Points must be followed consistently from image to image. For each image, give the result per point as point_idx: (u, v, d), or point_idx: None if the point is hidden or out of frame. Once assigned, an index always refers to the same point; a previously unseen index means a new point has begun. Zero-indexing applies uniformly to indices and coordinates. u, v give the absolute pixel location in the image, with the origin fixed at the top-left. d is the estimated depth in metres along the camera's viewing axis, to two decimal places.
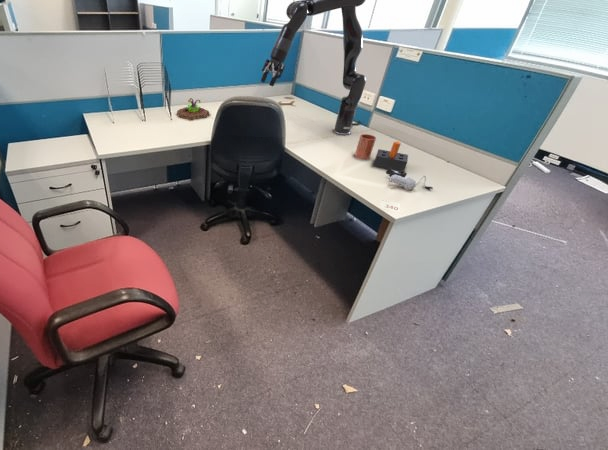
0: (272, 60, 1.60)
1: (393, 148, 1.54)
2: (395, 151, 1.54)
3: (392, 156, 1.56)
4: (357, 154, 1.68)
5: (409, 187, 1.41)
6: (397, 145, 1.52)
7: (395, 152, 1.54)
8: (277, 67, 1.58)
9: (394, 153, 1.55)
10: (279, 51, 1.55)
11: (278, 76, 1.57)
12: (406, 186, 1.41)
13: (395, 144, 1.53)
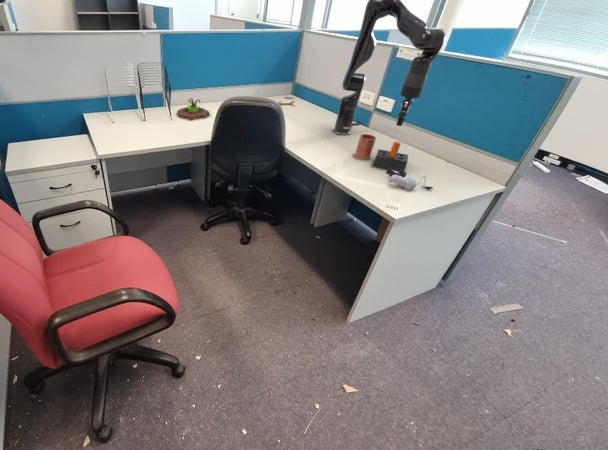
0: (411, 99, 1.40)
1: (393, 148, 1.54)
2: (395, 151, 1.54)
3: (392, 156, 1.56)
4: (357, 154, 1.68)
5: (409, 187, 1.41)
6: (397, 145, 1.52)
7: (395, 152, 1.54)
8: None
9: (394, 153, 1.55)
10: None
11: None
12: (406, 186, 1.41)
13: (395, 144, 1.53)
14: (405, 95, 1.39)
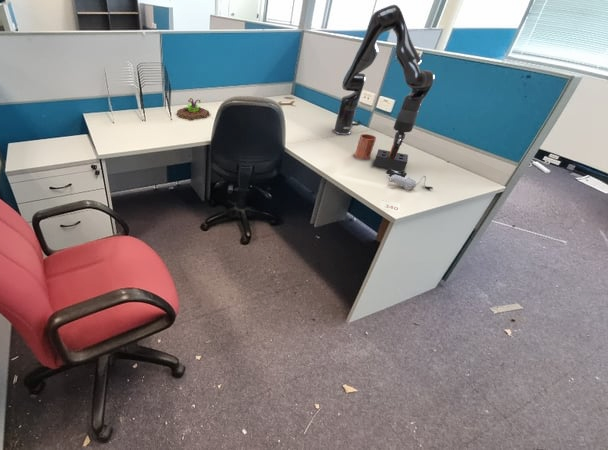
0: (403, 133, 1.49)
1: None
2: None
3: None
4: (357, 154, 1.68)
5: (409, 187, 1.41)
6: None
7: None
8: None
9: None
10: None
11: None
12: (406, 186, 1.41)
13: None
14: (398, 129, 1.47)
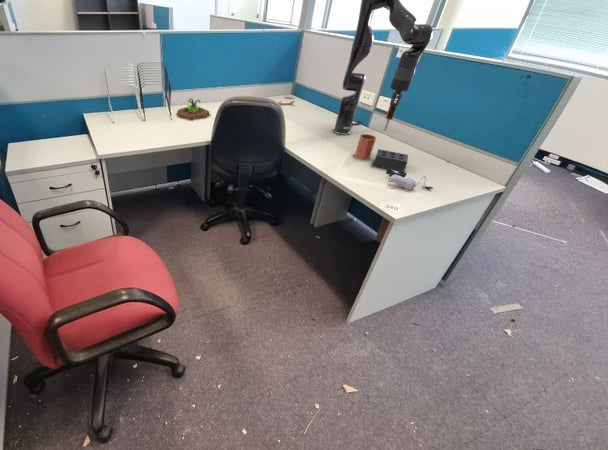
0: (400, 92, 1.45)
1: None
2: None
3: None
4: (357, 154, 1.68)
5: (409, 187, 1.41)
6: (394, 106, 1.49)
7: None
8: None
9: None
10: None
11: None
12: (406, 186, 1.41)
13: None
14: (395, 88, 1.43)
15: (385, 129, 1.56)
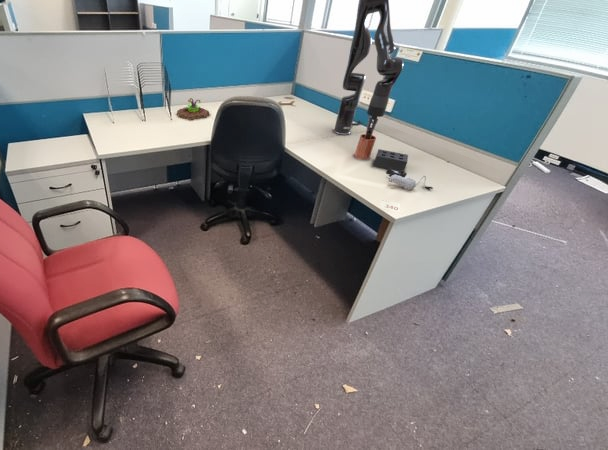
0: (376, 118, 1.57)
1: None
2: None
3: None
4: (357, 154, 1.68)
5: (409, 187, 1.41)
6: None
7: None
8: None
9: None
10: None
11: None
12: (406, 186, 1.41)
13: None
14: (371, 114, 1.55)
15: None
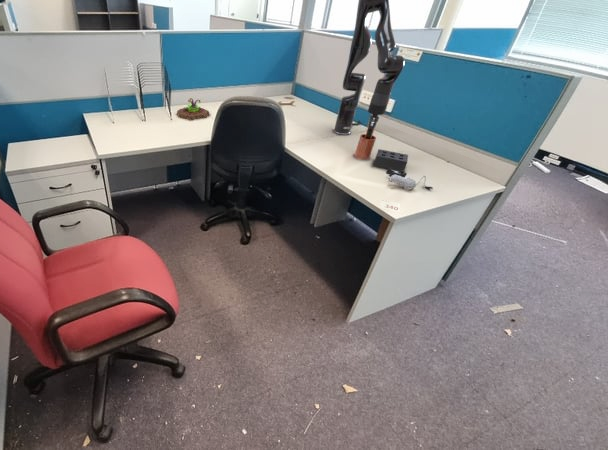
0: (377, 116, 1.56)
1: None
2: None
3: None
4: (357, 154, 1.68)
5: (409, 187, 1.41)
6: None
7: None
8: None
9: None
10: None
11: None
12: (406, 186, 1.41)
13: None
14: (372, 112, 1.55)
15: None
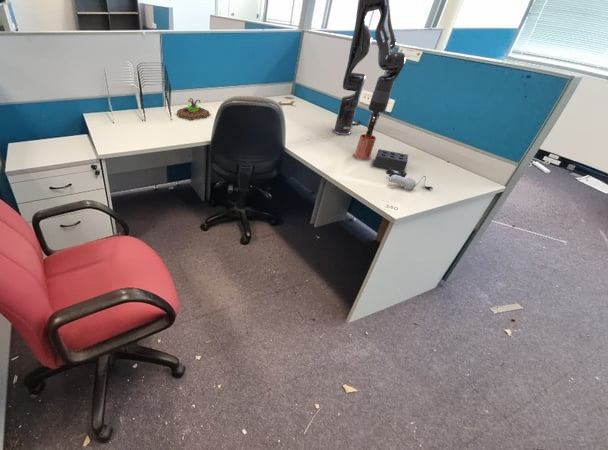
0: (378, 113, 1.56)
1: (366, 137, 1.64)
2: None
3: None
4: (357, 154, 1.68)
5: (409, 187, 1.41)
6: None
7: None
8: None
9: None
10: None
11: None
12: (406, 186, 1.41)
13: None
14: (372, 109, 1.54)
15: None
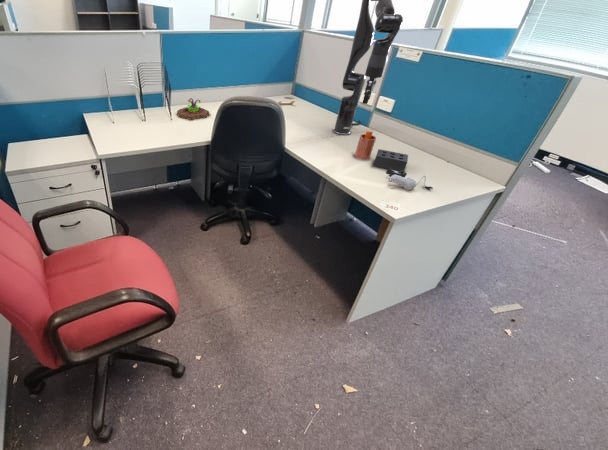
0: (374, 79, 1.54)
1: (366, 136, 1.65)
2: None
3: None
4: (357, 154, 1.68)
5: (409, 187, 1.41)
6: (369, 133, 1.64)
7: None
8: None
9: None
10: None
11: None
12: (406, 186, 1.41)
13: (367, 132, 1.64)
14: (369, 75, 1.52)
15: None
